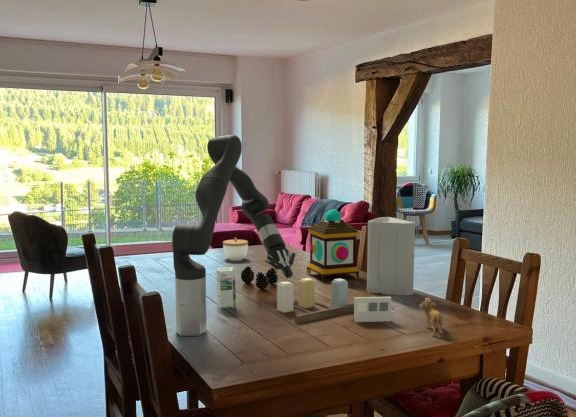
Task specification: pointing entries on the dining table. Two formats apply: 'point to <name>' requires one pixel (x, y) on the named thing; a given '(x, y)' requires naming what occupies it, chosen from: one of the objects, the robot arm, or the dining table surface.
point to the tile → (372, 309)
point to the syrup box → (226, 288)
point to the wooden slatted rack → (322, 312)
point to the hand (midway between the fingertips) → (289, 276)
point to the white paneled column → (390, 256)
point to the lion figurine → (432, 315)
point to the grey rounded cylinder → (339, 292)
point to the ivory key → (285, 296)
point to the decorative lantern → (332, 247)
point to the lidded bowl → (235, 249)
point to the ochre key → (306, 293)
